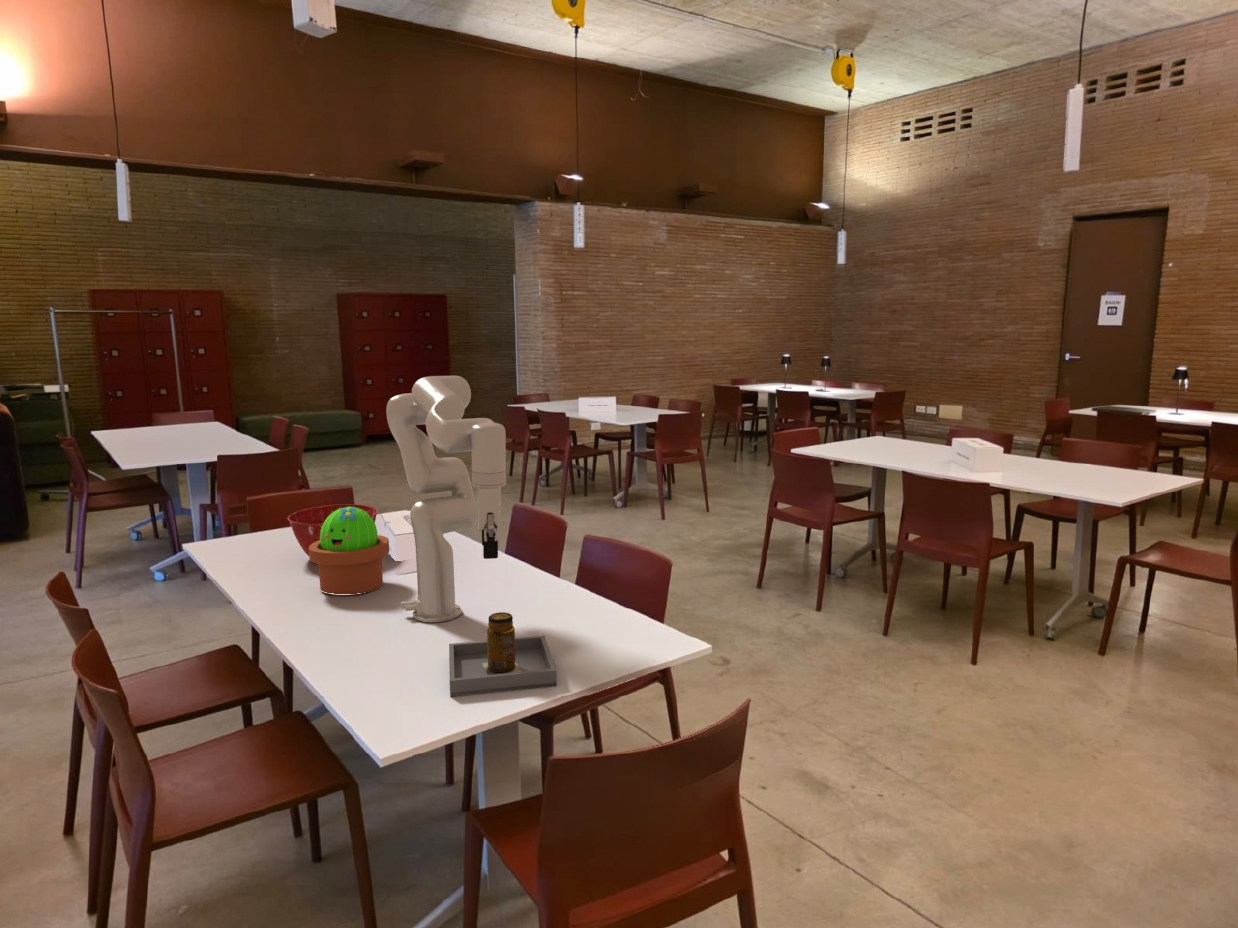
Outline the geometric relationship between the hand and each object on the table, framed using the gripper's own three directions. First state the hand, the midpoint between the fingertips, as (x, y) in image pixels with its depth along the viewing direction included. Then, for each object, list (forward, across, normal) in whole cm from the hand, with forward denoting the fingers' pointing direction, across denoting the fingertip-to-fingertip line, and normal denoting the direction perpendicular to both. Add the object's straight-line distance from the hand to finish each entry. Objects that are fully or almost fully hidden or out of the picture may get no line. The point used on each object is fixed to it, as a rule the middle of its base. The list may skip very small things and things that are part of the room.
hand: (489, 551), depth 175 cm
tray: (+24, +11, +2) cm, 27 cm away
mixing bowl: (+30, -93, -48) cm, 109 cm away
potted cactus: (+28, -58, -38) cm, 75 cm away
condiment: (+24, +12, +2) cm, 26 cm away
